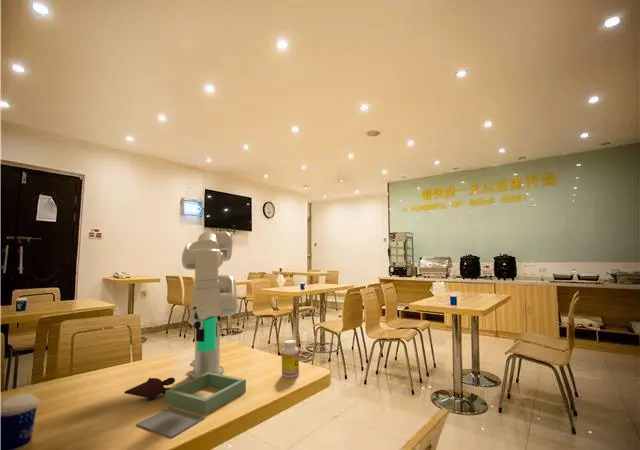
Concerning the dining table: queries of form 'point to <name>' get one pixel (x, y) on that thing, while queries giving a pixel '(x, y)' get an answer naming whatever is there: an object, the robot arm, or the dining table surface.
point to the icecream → (151, 388)
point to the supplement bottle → (290, 359)
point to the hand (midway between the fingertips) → (206, 338)
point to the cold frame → (185, 400)
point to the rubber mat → (170, 422)
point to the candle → (208, 336)
